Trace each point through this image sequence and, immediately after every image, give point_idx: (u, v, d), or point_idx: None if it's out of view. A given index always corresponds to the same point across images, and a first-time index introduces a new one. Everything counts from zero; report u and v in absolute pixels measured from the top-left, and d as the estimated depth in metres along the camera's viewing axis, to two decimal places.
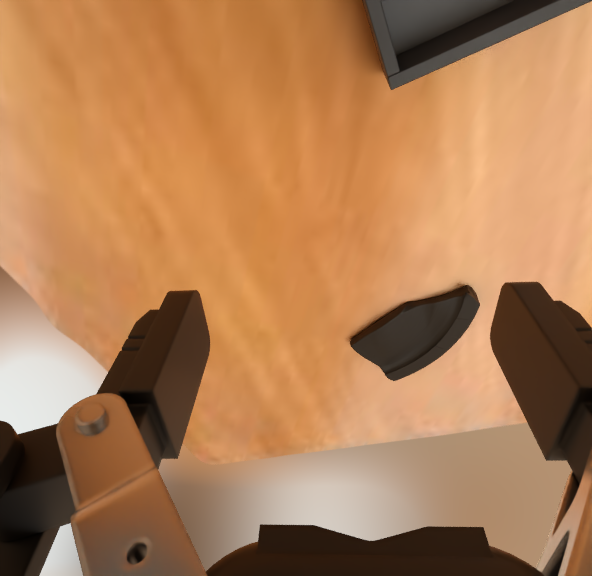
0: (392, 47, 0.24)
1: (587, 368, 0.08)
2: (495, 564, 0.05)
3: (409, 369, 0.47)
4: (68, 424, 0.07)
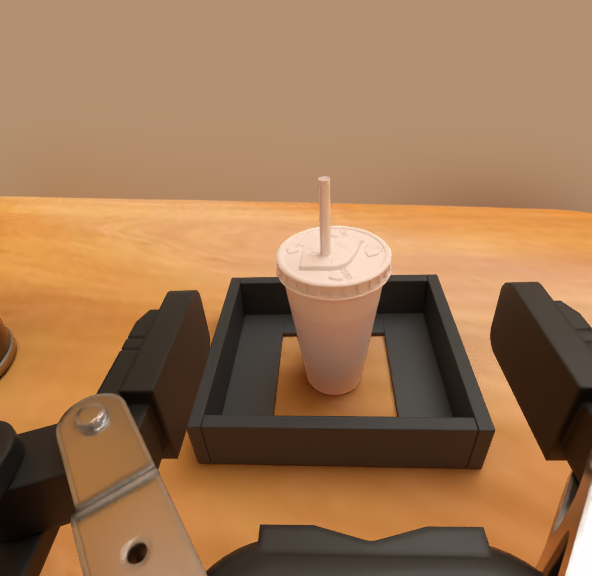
0: (445, 417, 0.22)
1: (587, 368, 0.08)
2: (495, 564, 0.05)
3: None
4: (68, 424, 0.07)
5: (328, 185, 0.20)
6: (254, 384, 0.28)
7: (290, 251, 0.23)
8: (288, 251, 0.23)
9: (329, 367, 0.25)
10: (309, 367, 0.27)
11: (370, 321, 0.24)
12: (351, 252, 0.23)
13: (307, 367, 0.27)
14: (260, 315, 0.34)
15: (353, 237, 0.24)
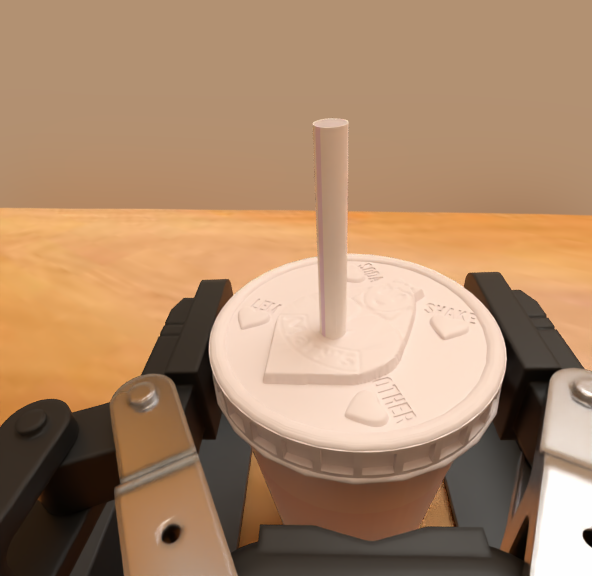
0: None
1: (534, 351, 0.08)
2: (495, 564, 0.05)
3: None
4: (121, 399, 0.08)
5: (344, 144, 0.07)
6: None
7: (246, 321, 0.10)
8: (241, 321, 0.10)
9: None
10: None
11: (440, 483, 0.10)
12: (399, 327, 0.09)
13: None
14: None
15: (397, 284, 0.10)
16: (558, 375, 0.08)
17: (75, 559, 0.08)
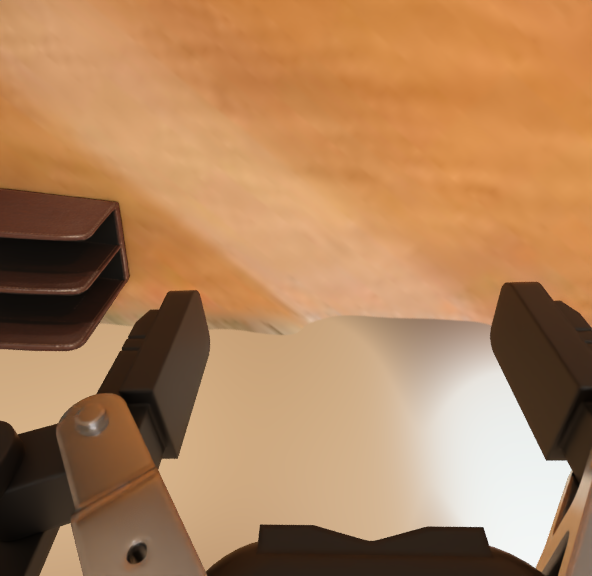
0: None
1: (587, 368, 0.08)
2: (495, 564, 0.05)
3: None
4: (68, 424, 0.07)
5: None
6: None
7: None
8: None
9: None
10: None
11: None
12: None
13: None
14: None
15: None
16: None
17: None
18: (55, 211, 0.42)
